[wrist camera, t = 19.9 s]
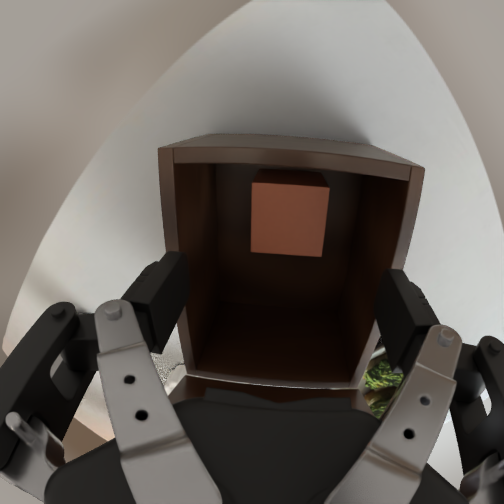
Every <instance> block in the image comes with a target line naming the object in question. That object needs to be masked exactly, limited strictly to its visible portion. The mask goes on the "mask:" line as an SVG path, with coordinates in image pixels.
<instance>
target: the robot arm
mask: <svg viewBox="0 0 504 504" xmlns="http://www.w3.org/2000/svg"><path fill="white" fill-rule="evenodd" d="M189 295H190V276H189V266H188V256H187V253H186V252H178V251H167V252H166V253H165V255H164V256H163V257H162V259H161V260H160V261H159V262H158V261H155V262H153V263H152V264H150V265H148V266H147V267H145V269H144V270H143V271H142V272H141V274H140V276H138V277H137V278H136V280H135V281H134V282H133V283H132V285H131V286H130V287H129V288H128V290H127V291H126V292H125V294H124V295H123V296H122V297H121V299H116V300H110V301H107V302H105V303H103V304H102V305H100V306H99V307H98V308H97V309H96V311H95V313H92V314H77V311H76V309H75V306H74V305H73V304H72V303H70V302H59V303H56V304H53V305H52V306H50V307H49V308H47V309H46V310H45V312H44V313H43V314H42V315H41V316H40V317H39V319H38V320H37V321H36V322H35V323H34V325H33V326H32V327H31V328H30V330H29V331H28V332H27V333H26V335H25V336H24V337H23V338H22V340H21V341H20V342H19V343H18V345H17V346H16V347H15V349H14V350H13V351H12V353H11V354H10V355H9V357H8V358H7V360H6V361H5V362H4V364H3V365H2V366H1V368H0V477H1V478H2V479H4V480H5V481H7V482H8V483H10V484H13V485H15V486H16V487H18V488H20V489H21V490H23V491H25V492H27V493H29V494H31V495H33V496H34V497H36V498H37V499H39V500H40V501H42V502H44V504H504V344H503V343H502V342H501V341H500V340H498V339H497V338H495V337H492V336H484V337H482V338H481V340H480V341H479V343H478V345H477V346H474V345H469V344H465V343H462V340H461V337H460V336H459V334H458V333H457V332H456V331H455V330H454V329H452V328H450V327H448V326H445V325H441V324H440V322H439V320H438V318H437V317H436V315H435V313H434V311H433V310H432V308H431V306H430V305H429V303H428V301H427V299H425V296H424V294H423V292H422V291H421V289H420V288H419V287H418V286H416V285H415V284H414V283H413V282H410V281H409V279H408V278H407V276H406V274H405V273H404V271H403V270H402V269H389V268H385V269H384V270H383V272H382V276H381V279H380V283H379V286H378V289H377V293H376V296H375V299H374V305H373V311H374V316H375V319H376V322H377V325H378V328H379V331H380V334H381V338H382V341H383V344H384V347H385V351H386V354H387V357H388V361H389V364H390V368H391V372H392V373H403V375H404V377H403V379H402V381H401V382H400V384H399V386H398V388H397V389H396V391H395V393H394V395H393V396H392V398H391V400H390V402H389V403H388V405H387V407H386V408H385V410H384V411H383V413H382V415H381V416H380V418H379V419H378V418H377V417H375V416H373V415H371V414H369V413H367V412H365V411H362V410H359V409H356V408H352V406H351V398H350V397H342V398H333V397H315V398H309V399H304V400H298V401H291V402H285V403H276V402H273V401H269V400H266V399H263V398H260V397H256V396H253V395H250V394H247V393H244V392H240V391H232V390H224V389H217V388H211V387H207V388H206V392H205V395H204V397H195V398H189V399H185V400H181V401H179V402H176V403H174V404H171V402H170V400H169V397H168V395H167V393H166V391H165V388H164V386H163V384H162V381H161V379H160V377H159V374H158V372H157V369H156V367H155V364H154V362H153V359H152V357H151V354H150V353H151V352H152V353H157V354H162V352H163V350H164V348H165V346H166V344H167V342H168V339H169V337H170V335H171V333H172V331H173V329H174V327H175V325H176V323H177V321H178V319H179V317H180V315H181V313H182V311H183V309H184V307H185V305H186V303H187V301H188V299H189ZM59 354H60V355H61V357H62V359H63V360H62V362H61V363H60V365H59V366H58V368H57V370H56V371H55V373H54V374H53V376H52V378H51V376H50V371H51V367H52V365H53V363H54V362H55V360H56V359H57V357H58V356H59ZM96 371H99V373H100V378H101V383H102V388H103V392H104V397H105V401H106V405H107V409H108V413H109V417H110V420H111V424H112V427H113V431H114V434H115V438H113V439H112V440H110V441H108V442H106V443H104V444H103V445H101V446H99V447H97V448H95V449H93V450H91V451H89V452H87V453H86V454H84V455H82V456H80V457H78V458H76V459H74V460H72V461H70V462H68V463H65V459H64V447H63V445H62V440H63V438H64V436H65V434H66V432H67V429H68V427H69V425H70V423H71V421H72V419H73V417H74V415H75V412H76V410H77V408H78V406H79V404H80V402H81V400H82V398H83V396H84V394H85V392H86V390H87V388H88V386H89V385H90V383H91V381H92V379H93V377H94V375H95V373H96ZM485 388H486V389H487V391H488V394H489V397H490V399H491V403H492V406H491V411H490V413H489V415H488V416H487V414H486V411H485V408H484V405H483V402H482V399H481V396H480V394H481V393H482V392H483V391H484V390H485ZM449 409H450V413H451V417H452V421H453V425H454V429H455V433H456V438H457V442H458V447H459V452H460V457H461V463H462V469H463V475H464V477H463V479H462V481H461V484H460V489H458V490H457V489H456V488H455V487H454V486H452V485H451V484H450V483H449V482H448V481H447V480H445V478H443V477H442V476H441V475H440V474H439V473H438V472H437V471H435V470H434V469H433V468H432V467H431V466H430V465H429V464H428V463H427V460H428V458H429V456H430V454H431V452H432V450H433V447H434V445H435V443H436V440H437V438H438V436H439V433H440V431H441V428H442V426H443V423H444V421H445V418H446V415H447V413H448V410H449Z"/></svg>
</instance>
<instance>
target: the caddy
mask: <svg viewBox="0 0 504 504" xmlns="http://www.w3.org/2000/svg"><path fill="white" fill-rule="evenodd" d="M158 165H159V181H160V195H161V207H162V218H163V228H164V238H165V247H166V252H167V251H178V252H186V253H187V256H188V266H189V276H190V295H189V299H188V301H187V303H186V305H185V307H184V309H183V311H182V313H181V315H180V317H179V319H178V321H177V327H178V333H179V338H180V343H181V348H182V353H183V358H184V363H185V368H186V372H187V374H188V375H194V376H199V377H206V378H212V379H219V380H226V381H234V382H242V383H251V384H261V385H272V386H285V387H303V388H357V387H358V385H359V383H360V381H361V379H362V377H363V375H364V372H365V370H366V368H367V366H368V363H369V361H370V359H371V357H372V354H373V352H374V349H375V347H376V345H377V342H378V340H379V337H380V335H381V334H380V331H379V328H378V325H377V322H376V319H375V316H374V311H373V305H374V299H375V296H376V293H377V289H378V286H379V283H380V279H381V276H382V272H383V270H384V269H385V268H389V269H402V270H403V267H404V264H405V260H406V257H407V253H408V249H409V245H410V241H411V237H412V233H413V229H414V225H415V221H416V216H417V211H418V206H419V201H420V196H421V191H422V185H423V179H424V173H425V168H424V167H422V166H420V165H417V164H415V163H413V162H411V161H409V160H406V159H404V158H402V157H399V156H397V155H395V154H392V153H390V152H388V151H385V150H383V149H380V148H378V147H375V146H373V145H367V144H360V143H353V142H345V141H337V140H329V139H319V138H309V137H297V136H282V135H263V134H206V135H202V136H198V137H194V138H191V139H187V140H183V141H180V142H176V143H173V144H170V145H166V146H163V147H160V148H158ZM259 169H278V170H294V171H307V172H319V173H322V175H323V177H324V179H325V180H326V182H327V184H328V186H329V188H330V191H329V201H328V210H327V219H326V227H325V235H324V242H323V250H322V256H321V257H315V256H300V255H286V254H272V253H258V252H251V251H250V250H251V192H252V181H253V180H254V178H255V176H256V174H257V172H258V170H259Z"/></svg>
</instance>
